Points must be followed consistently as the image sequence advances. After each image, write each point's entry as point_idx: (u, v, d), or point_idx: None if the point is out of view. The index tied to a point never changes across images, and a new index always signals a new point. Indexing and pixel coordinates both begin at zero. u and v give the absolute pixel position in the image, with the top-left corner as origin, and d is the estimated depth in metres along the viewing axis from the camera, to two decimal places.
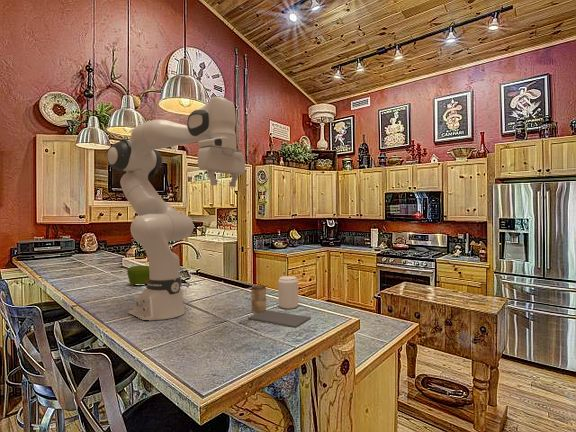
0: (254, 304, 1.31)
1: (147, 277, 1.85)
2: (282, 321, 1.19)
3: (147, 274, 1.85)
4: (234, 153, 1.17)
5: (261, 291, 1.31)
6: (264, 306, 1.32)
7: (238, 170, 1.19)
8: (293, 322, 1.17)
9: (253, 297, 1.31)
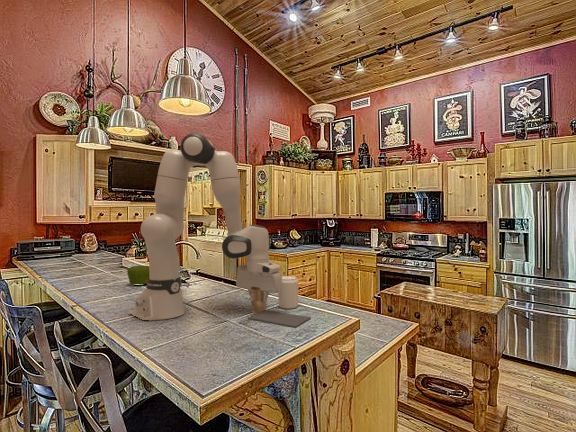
0: (254, 304, 1.31)
1: (147, 277, 1.85)
2: (282, 321, 1.19)
3: (147, 274, 1.85)
4: None
5: (261, 291, 1.31)
6: (264, 306, 1.32)
7: None
8: (293, 322, 1.17)
9: (253, 297, 1.31)
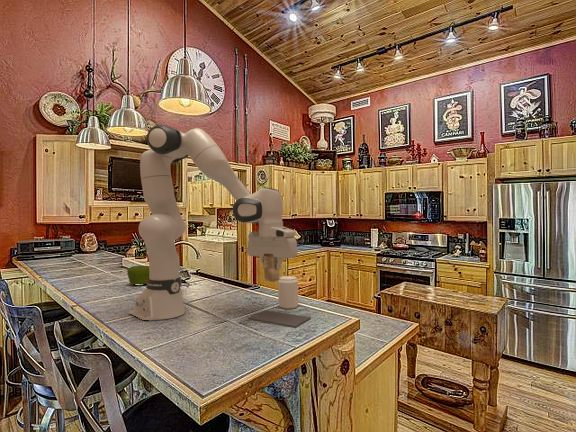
0: (266, 272, 1.23)
1: (147, 277, 1.85)
2: (282, 321, 1.19)
3: (147, 274, 1.85)
4: None
5: (274, 258, 1.23)
6: (277, 274, 1.24)
7: None
8: (293, 322, 1.17)
9: (266, 264, 1.23)
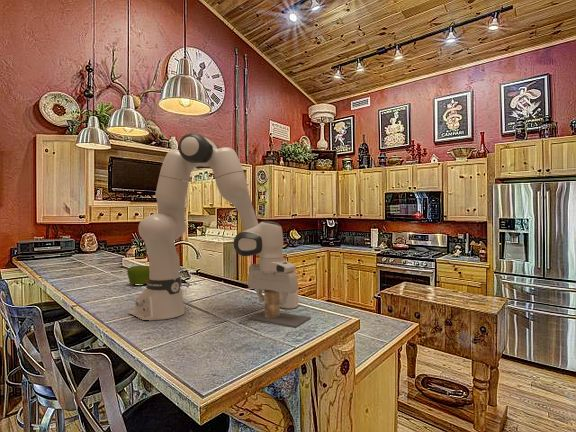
0: (267, 308, 1.23)
1: (147, 277, 1.85)
2: (282, 321, 1.19)
3: (147, 274, 1.85)
4: None
5: (275, 294, 1.23)
6: (278, 310, 1.24)
7: None
8: (293, 322, 1.17)
9: (266, 300, 1.23)
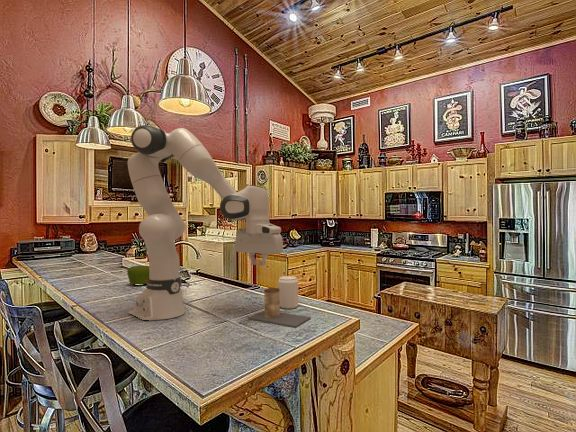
0: (267, 308, 1.23)
1: (147, 277, 1.85)
2: (282, 321, 1.19)
3: (147, 274, 1.85)
4: None
5: (275, 294, 1.23)
6: (278, 310, 1.24)
7: None
8: (293, 322, 1.17)
9: (266, 300, 1.23)
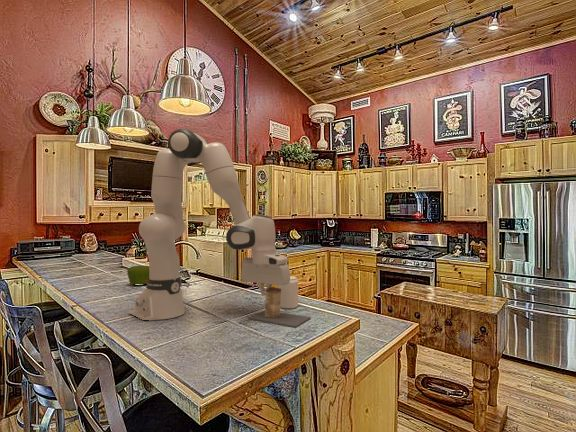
0: (267, 308, 1.23)
1: (147, 277, 1.85)
2: (282, 321, 1.19)
3: (147, 274, 1.85)
4: None
5: (276, 294, 1.22)
6: (278, 310, 1.24)
7: None
8: (293, 322, 1.17)
9: (267, 300, 1.23)
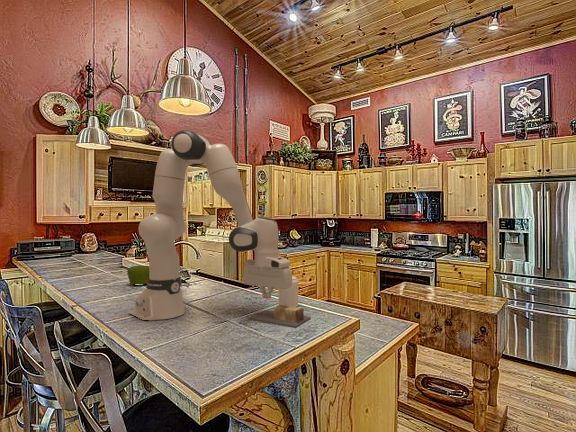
0: (281, 311, 1.20)
1: (147, 277, 1.85)
2: (282, 321, 1.19)
3: (147, 274, 1.85)
4: None
5: None
6: None
7: None
8: (293, 322, 1.17)
9: (287, 312, 1.19)
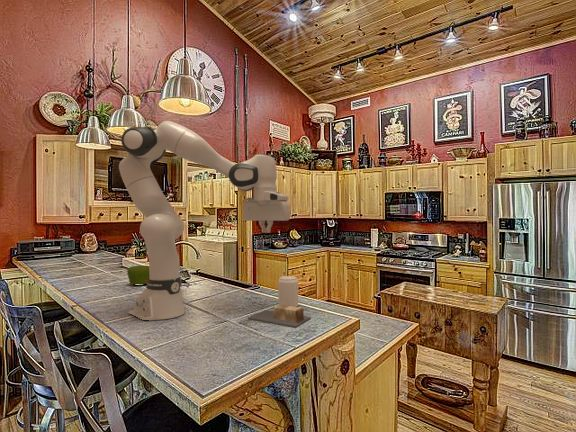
0: (281, 311, 1.20)
1: (147, 277, 1.85)
2: (282, 321, 1.19)
3: (147, 274, 1.85)
4: None
5: None
6: None
7: None
8: (293, 322, 1.17)
9: (287, 312, 1.19)
